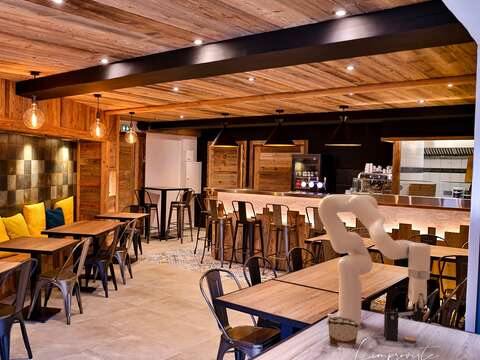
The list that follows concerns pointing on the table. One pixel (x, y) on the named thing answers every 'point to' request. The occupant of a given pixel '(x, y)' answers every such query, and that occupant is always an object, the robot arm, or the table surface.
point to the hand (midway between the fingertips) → (417, 319)
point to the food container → (342, 330)
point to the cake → (409, 339)
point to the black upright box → (391, 325)
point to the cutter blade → (406, 313)
